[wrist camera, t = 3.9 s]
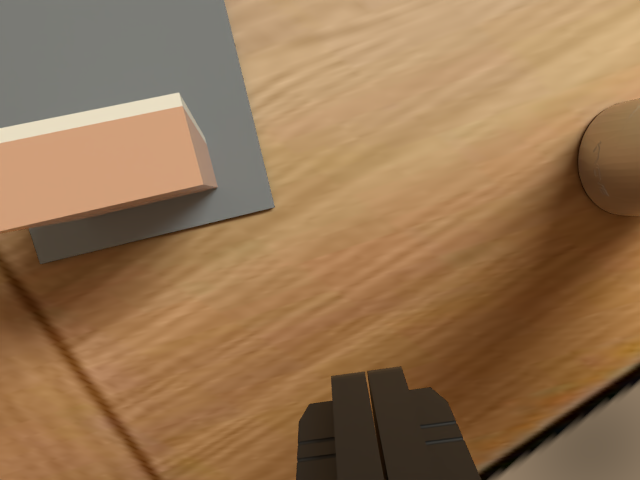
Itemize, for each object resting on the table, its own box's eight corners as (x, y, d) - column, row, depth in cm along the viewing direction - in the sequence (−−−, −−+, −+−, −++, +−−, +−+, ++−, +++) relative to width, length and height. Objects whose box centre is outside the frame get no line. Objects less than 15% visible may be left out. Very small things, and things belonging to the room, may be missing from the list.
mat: (189, -136, 31) (189, -141, 30) (274, 206, 34) (274, 207, 34) (-74, -101, 29) (-80, -106, 28) (43, 263, 32) (40, 263, 31)
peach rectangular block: (204, 137, 32) (179, 92, 18) (217, 187, 33) (203, 184, 18) (68, 166, 31) (-83, 144, 16) (84, 218, 31) (-49, 242, 17)
